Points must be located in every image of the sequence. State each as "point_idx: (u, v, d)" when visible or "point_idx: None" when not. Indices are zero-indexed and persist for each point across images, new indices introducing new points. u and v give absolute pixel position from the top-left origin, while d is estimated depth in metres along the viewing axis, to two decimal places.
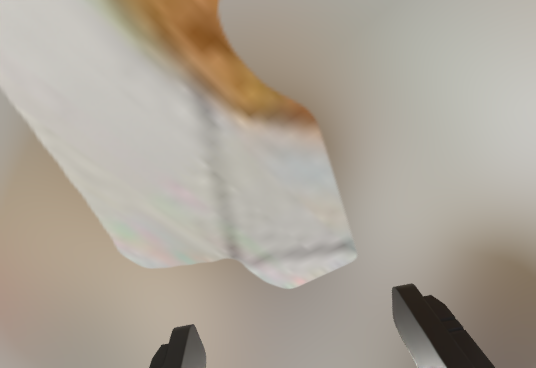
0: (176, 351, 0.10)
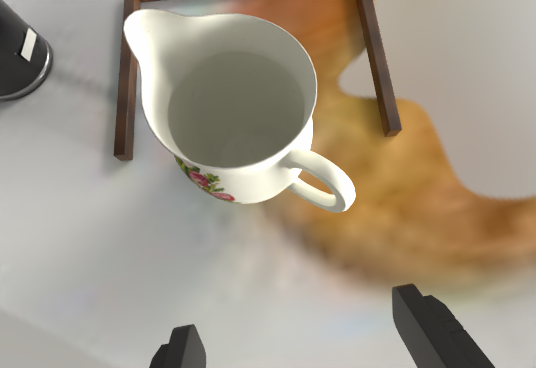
0: (176, 351, 0.10)
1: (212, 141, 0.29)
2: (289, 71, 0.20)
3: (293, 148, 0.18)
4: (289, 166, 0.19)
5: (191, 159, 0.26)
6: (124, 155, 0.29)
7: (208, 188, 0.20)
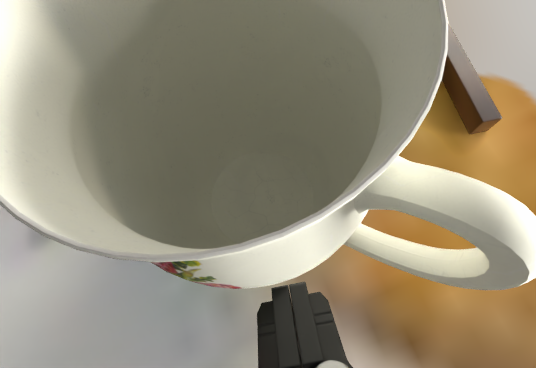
0: (283, 305, 0.11)
1: (196, 173, 0.18)
2: (327, 3, 0.09)
3: None
4: (363, 207, 0.08)
5: (158, 208, 0.14)
6: None
7: (180, 276, 0.09)
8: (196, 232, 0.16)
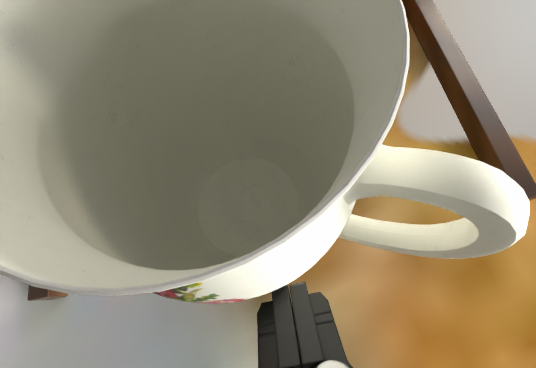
0: (283, 305, 0.11)
1: (177, 191, 0.18)
2: (283, 5, 0.10)
3: None
4: (352, 197, 0.08)
5: (145, 233, 0.14)
6: (47, 297, 0.16)
7: (181, 299, 0.09)
8: (188, 251, 0.16)
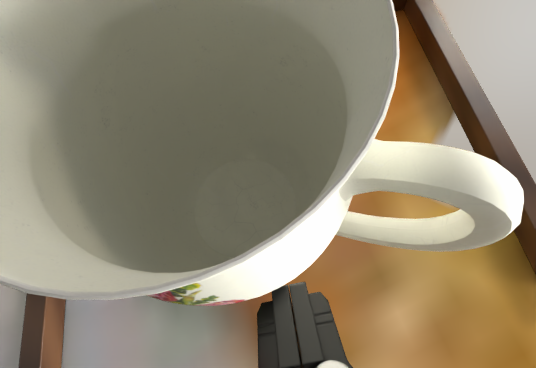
0: (282, 305, 0.11)
1: (173, 195, 0.17)
2: (272, 4, 0.10)
3: None
4: (348, 193, 0.08)
5: (142, 238, 0.14)
6: None
7: (180, 302, 0.09)
8: (186, 255, 0.16)
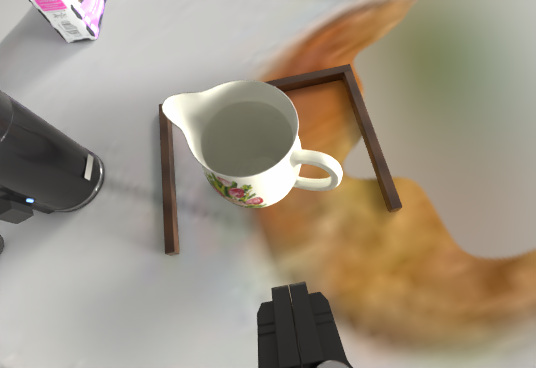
0: (283, 305, 0.11)
1: (227, 173, 0.38)
2: (272, 105, 0.30)
3: (292, 151, 0.28)
4: (293, 164, 0.28)
5: None
6: (173, 252, 0.35)
7: (244, 197, 0.29)
8: None
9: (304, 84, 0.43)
